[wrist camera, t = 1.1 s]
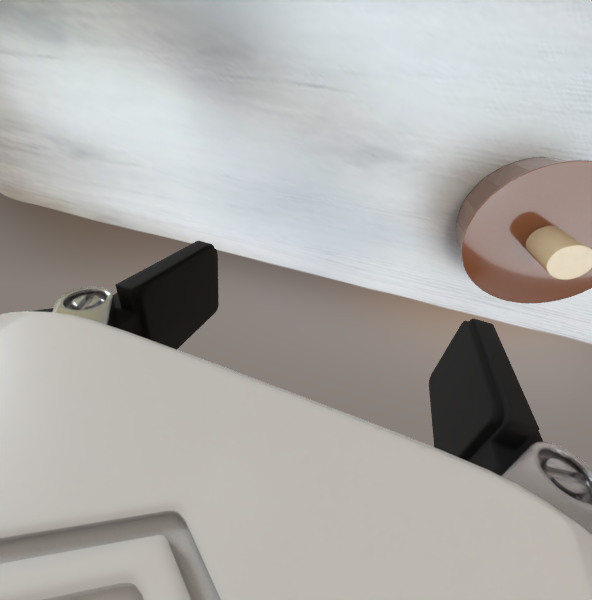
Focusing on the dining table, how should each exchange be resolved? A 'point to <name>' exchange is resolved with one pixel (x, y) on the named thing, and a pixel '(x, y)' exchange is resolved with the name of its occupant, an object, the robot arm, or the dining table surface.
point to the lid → (534, 235)
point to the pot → (494, 188)
